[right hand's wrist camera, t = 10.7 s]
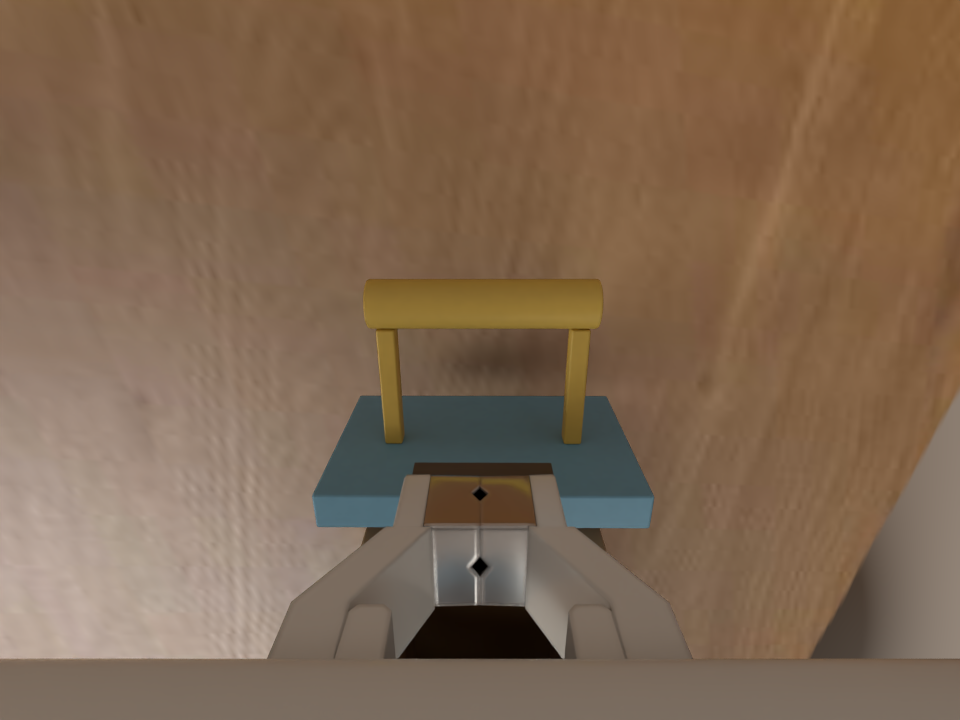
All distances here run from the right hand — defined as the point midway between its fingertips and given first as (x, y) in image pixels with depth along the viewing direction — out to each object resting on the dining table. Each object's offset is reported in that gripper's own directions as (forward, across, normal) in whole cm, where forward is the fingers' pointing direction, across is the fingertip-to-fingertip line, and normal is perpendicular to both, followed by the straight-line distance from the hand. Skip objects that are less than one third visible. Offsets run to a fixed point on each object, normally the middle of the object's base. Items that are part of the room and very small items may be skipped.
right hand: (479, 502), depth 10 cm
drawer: (+10, 0, -9) cm, 14 cm away
